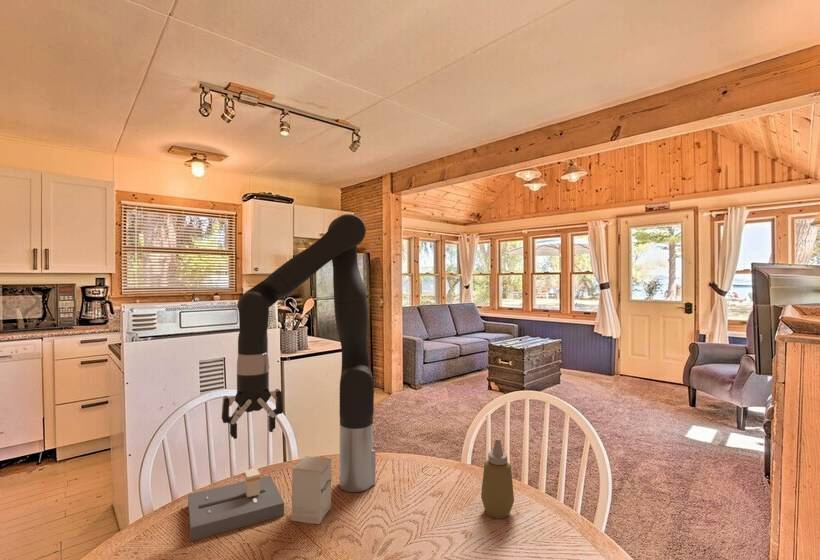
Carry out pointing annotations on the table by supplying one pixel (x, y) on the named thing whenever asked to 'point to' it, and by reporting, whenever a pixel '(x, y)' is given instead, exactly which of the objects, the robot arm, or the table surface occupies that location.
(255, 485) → the fader
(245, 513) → the console
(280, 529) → the table surface
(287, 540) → the table surface
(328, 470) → the supplement box
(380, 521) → the table surface
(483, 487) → the squeeze bottle
